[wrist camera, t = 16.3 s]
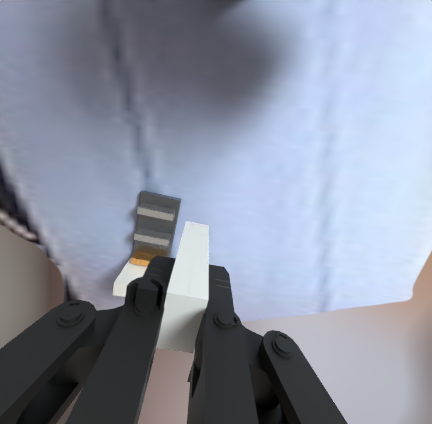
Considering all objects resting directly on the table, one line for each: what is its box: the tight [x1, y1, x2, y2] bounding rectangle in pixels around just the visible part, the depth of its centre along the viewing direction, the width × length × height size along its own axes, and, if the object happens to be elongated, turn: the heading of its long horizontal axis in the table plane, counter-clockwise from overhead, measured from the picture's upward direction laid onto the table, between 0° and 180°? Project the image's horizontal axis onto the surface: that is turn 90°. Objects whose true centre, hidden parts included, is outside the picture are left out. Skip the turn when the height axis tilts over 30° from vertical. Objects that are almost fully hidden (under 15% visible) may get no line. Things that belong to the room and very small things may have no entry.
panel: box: [113, 258, 147, 297], centre depth 38 cm, size 2×8×8 cm, turn 76°
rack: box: [131, 191, 181, 266], centre depth 39 cm, size 20×7×4 cm, turn 166°
